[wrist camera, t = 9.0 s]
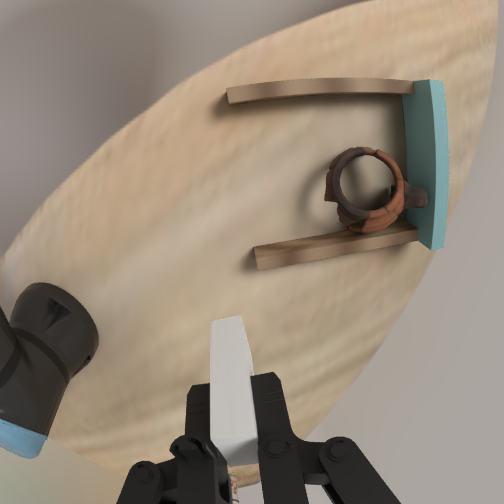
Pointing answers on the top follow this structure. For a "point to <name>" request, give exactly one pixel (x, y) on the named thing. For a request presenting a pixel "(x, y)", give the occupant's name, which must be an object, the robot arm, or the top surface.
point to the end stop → (428, 158)
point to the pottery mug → (379, 218)
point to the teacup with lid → (234, 489)
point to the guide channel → (338, 241)
